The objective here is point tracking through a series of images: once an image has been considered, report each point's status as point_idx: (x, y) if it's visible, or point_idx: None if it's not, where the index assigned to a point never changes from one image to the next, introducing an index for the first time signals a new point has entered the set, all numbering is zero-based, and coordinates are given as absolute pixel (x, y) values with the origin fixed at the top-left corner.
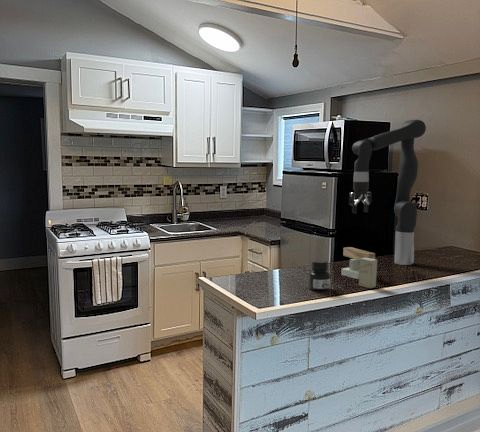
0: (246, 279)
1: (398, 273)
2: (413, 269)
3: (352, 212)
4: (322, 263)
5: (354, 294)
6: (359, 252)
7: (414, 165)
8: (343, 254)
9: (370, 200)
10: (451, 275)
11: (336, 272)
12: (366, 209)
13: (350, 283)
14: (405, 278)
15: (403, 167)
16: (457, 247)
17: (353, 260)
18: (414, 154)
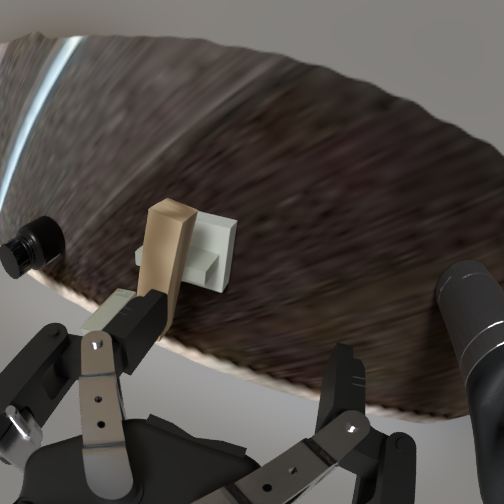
0: (3, 87)
1: (307, 323)
2: (390, 337)
3: (151, 291)
4: (9, 273)
5: (79, 302)
6: (138, 294)
7: None
8: (164, 201)
9: (361, 494)
10: (370, 407)
11: (172, 171)
12: (323, 389)
13: (117, 265)
14: (263, 350)
15: None
16: None
17: (139, 265)
18: None
